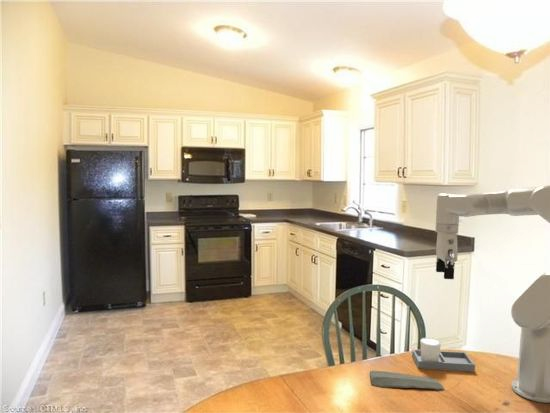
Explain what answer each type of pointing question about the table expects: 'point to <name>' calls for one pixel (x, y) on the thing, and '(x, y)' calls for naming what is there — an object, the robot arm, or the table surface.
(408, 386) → the stone slab
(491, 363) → the table surface
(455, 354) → the tray
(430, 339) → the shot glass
